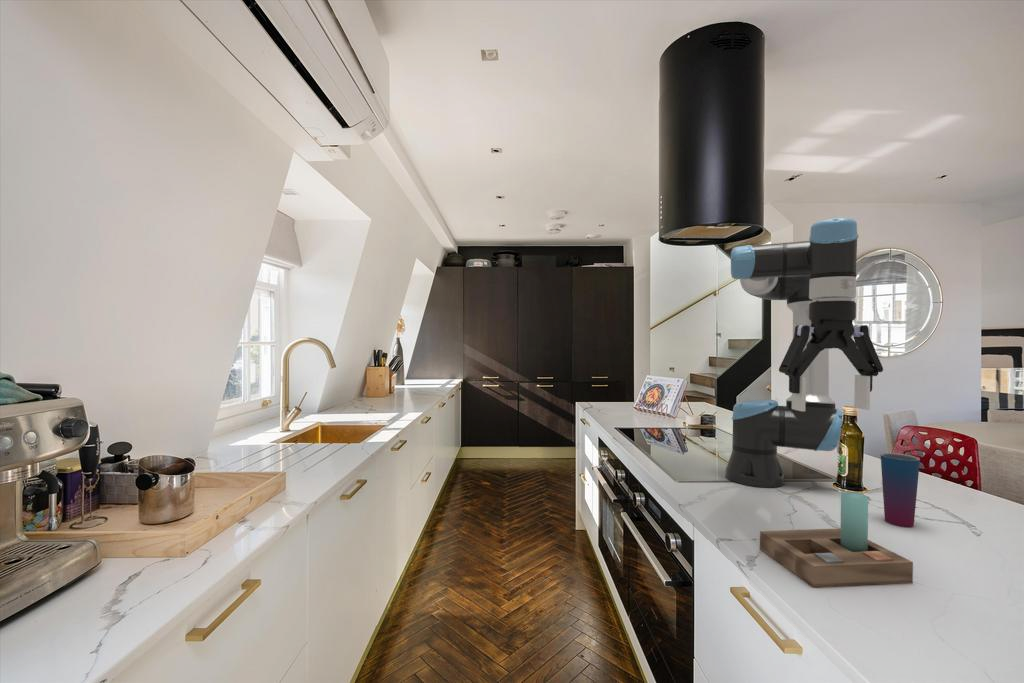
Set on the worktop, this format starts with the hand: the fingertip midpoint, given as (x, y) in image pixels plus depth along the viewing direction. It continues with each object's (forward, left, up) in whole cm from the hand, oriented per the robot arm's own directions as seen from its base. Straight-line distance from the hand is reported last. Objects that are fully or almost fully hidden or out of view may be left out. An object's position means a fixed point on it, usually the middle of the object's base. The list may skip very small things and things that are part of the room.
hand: (830, 409), depth 90 cm
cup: (-11, +26, -28) cm, 40 cm away
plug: (+6, 0, -27) cm, 27 cm away
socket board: (+6, -5, -27) cm, 28 cm away
